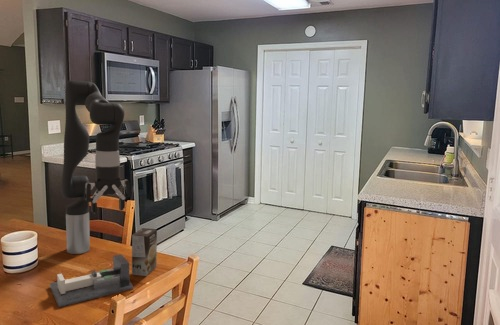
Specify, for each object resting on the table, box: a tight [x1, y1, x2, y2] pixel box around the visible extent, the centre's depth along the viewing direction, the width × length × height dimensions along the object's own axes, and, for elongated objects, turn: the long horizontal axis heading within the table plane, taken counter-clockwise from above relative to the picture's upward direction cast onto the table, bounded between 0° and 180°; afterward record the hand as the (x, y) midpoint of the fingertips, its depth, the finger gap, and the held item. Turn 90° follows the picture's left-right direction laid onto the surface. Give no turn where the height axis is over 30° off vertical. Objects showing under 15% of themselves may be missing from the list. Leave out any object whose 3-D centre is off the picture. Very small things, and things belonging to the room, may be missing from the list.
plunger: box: [56, 269, 101, 294], centre depth 133 cm, size 6×13×5 cm, turn 126°
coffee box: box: [131, 227, 158, 277], centre depth 150 cm, size 9×6×16 cm
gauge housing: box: [49, 253, 134, 308], centre depth 135 cm, size 16×24×8 cm, turn 126°
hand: (108, 211), depth 128 cm, fingers open, 8 cm apart
